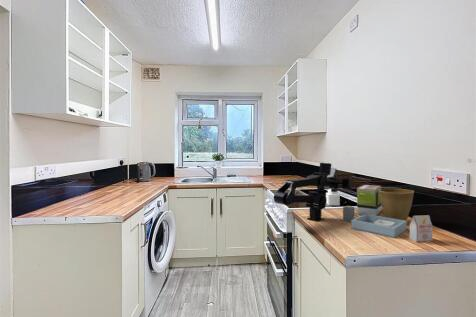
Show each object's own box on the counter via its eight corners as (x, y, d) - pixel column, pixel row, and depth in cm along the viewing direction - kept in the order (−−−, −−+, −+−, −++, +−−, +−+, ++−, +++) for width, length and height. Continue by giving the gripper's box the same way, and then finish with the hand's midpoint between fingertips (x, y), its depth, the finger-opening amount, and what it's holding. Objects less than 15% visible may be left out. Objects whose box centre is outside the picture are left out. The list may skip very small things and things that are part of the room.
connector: (350, 222, 133) (350, 207, 133) (343, 220, 136) (343, 206, 136) (354, 220, 136) (354, 206, 136) (346, 219, 139) (346, 205, 139)
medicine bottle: (336, 203, 178) (336, 185, 178) (339, 205, 171) (339, 187, 170) (325, 203, 179) (325, 185, 178) (328, 205, 172) (328, 187, 171)
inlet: (390, 232, 115) (390, 225, 115) (373, 228, 120) (373, 222, 120) (395, 229, 120) (395, 222, 119) (379, 225, 125) (379, 219, 124)
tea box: (363, 208, 163) (363, 184, 162) (382, 210, 156) (382, 185, 156) (356, 213, 151) (356, 187, 150) (376, 216, 145) (376, 189, 144)
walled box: (394, 238, 110) (394, 228, 109) (351, 228, 123) (351, 220, 123) (406, 229, 120) (406, 220, 120) (365, 221, 134) (366, 213, 134)
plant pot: (407, 219, 137) (407, 188, 137) (418, 227, 123) (418, 193, 122) (375, 217, 141) (375, 187, 141) (382, 225, 127) (383, 192, 126)
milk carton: (409, 239, 109) (409, 214, 108) (424, 238, 109) (425, 214, 109) (416, 242, 105) (416, 217, 104) (432, 241, 106) (432, 216, 105)
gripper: (342, 166, 138) (358, 170, 147) (313, 168, 153) (329, 172, 162) (342, 188, 136) (359, 190, 145) (312, 188, 151) (329, 190, 160)
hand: (343, 185), depth 153 cm, fingers open, 9 cm apart
